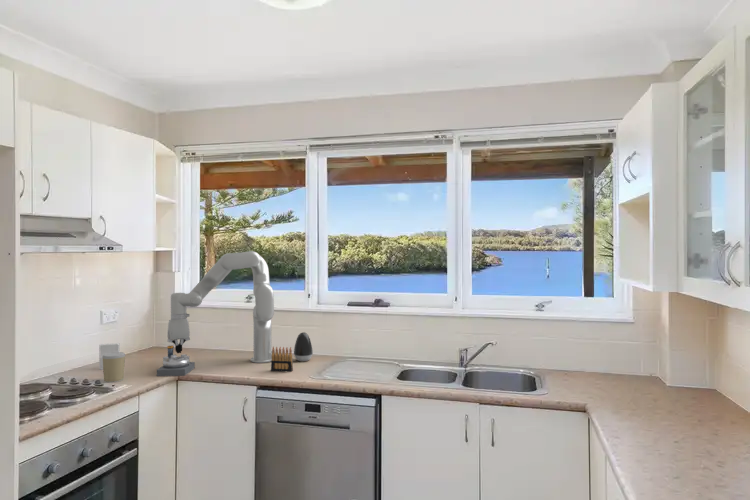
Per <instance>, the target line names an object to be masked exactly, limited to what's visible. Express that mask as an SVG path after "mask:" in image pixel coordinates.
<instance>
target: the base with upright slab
mask: <svg viewBox="0 0 750 500" xmlns="http://www.w3.org/2000/svg"><path fill="white" fill-rule="evenodd" d="M98 350H99V358H98V359H99V360H98V361H99V362H98V363H99V364H98V365H99V366H98V369H99V370H101V371H103V358H102V356H103V355H104V354H107V353H113V352H120V343H119V342H117V343H104V344H103V343H100V344H99V349H98Z"/></svg>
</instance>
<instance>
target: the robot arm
mask: <svg viewBox="0 0 750 500" xmlns="http://www.w3.org/2000/svg"><path fill="white" fill-rule="evenodd" d="M249 268H250V269H251V270H252V279H253V282H252V283H253V289H252V290H253V296H254V301H255V302H254V303H255V305H254V307H253V310H252V318H253V356H252V357H251V358H250V362H252V363H257V364H262V363H264V364H265V363H271V361H272V330H273V329H272V325H273V324H272V319H273V317H274V314H275V299H274V296H275V295H274V289H273V287H272V286H271V284H270V283H271V282H270V272H269V271H270V270H269V266H268V263H267V262H266V260H265V259H264V258H263V256H261V255H260V254H259V253H258V252H256V251H254V250H253V251H252V250H249V251H243V252H233V253H232V252H230V253H224V254H223V255H222V256H220V258H219V259H218V260H217V261H216V262H215V264H214V265H212V267H211V268H210V269H209V270H208V271H207V272H206V274H204V275H203V277H202V279H201V280H200V281H199V282H198V283H196V285H194V287H193V289H192V290H191V291H190V292H188V293H185V292H173V293H171V294H170V319H169V320H168V322H167V323H168V324H167V342H168V343H171V344H173V345H174V347H175V349H174V351H175V352H176V353H177V354H182V352H183V345H184V343H185V342H188V341H190V340H191V339H190V335H191V334H190V333H191V332H190V324H189V323H190V321H189V319H188V318H189V317H190V313H187V312H188V311H187V307H189V308H196V307H197V308H198V307H199V306H201V305H202V302H203V300H204V298H205V297H206V296H208V294H209V293H210V292H212V290H213V289H214V288H216V287H218V286H219V285H220V284H221V283H222V282H223V281H224V279H225V278H226V277H227V276H228V275H229V274H230V273H231V272H232V270H241V269H249ZM178 340H179V341H178ZM278 355H279V353H278Z"/></svg>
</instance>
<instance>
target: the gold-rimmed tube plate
mask: <svg viewBox="0 0 750 500" xmlns="http://www.w3.org/2000/svg"><path fill="white" fill-rule="evenodd" d="M174 347H175V345H167V346H166V348H167V355H166V356H163V357H162V362H163V363H162V366H163V367H165V368H180V367H185V366H188V365H189V362H190V355H188V354H185V353H183V354H181V355H180V356H177V354H174Z"/></svg>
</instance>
